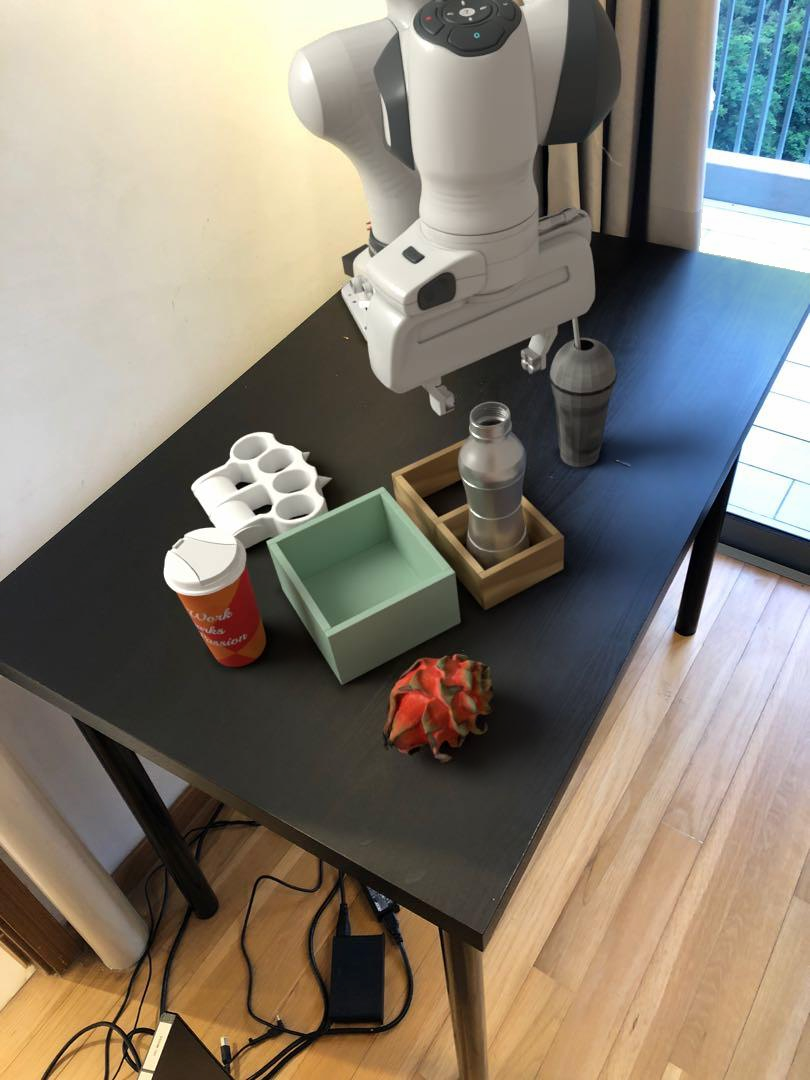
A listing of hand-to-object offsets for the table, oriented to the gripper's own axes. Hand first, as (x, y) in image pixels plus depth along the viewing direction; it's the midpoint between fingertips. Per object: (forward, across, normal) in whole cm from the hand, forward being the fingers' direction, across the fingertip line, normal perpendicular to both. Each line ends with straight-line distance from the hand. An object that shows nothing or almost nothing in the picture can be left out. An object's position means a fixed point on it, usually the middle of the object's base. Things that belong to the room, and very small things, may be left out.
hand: (489, 388), depth 77 cm
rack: (+23, 0, -5) cm, 23 cm away
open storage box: (+23, +14, -3) cm, 27 cm away
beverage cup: (+23, -17, -9) cm, 30 cm away
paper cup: (+23, +28, -6) cm, 37 cm away
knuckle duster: (+23, +17, -24) cm, 37 cm away
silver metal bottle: (+23, 0, 0) cm, 23 cm away
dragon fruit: (+23, +16, +14) cm, 31 cm away
